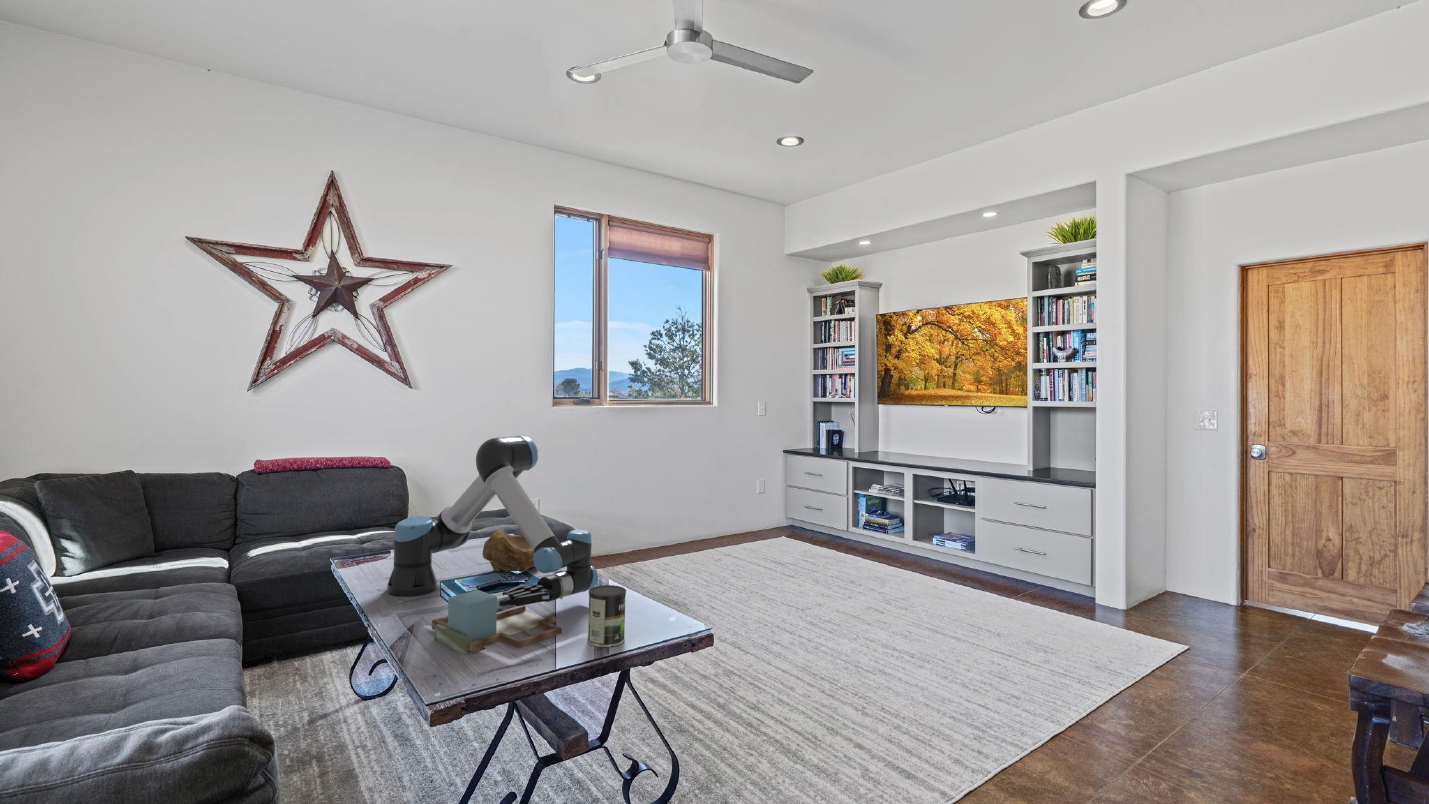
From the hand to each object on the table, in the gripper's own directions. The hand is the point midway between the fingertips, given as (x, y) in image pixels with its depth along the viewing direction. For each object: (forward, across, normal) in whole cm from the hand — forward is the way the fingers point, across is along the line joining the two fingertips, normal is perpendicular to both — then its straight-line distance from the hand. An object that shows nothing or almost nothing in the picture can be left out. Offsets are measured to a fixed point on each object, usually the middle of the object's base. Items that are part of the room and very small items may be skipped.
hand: (487, 605), depth 190 cm
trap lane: (-4, 0, -8) cm, 9 cm away
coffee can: (-20, -27, -9) cm, 34 cm away
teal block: (+5, 0, -8) cm, 9 cm away
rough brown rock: (-46, +47, -9) cm, 67 cm away
